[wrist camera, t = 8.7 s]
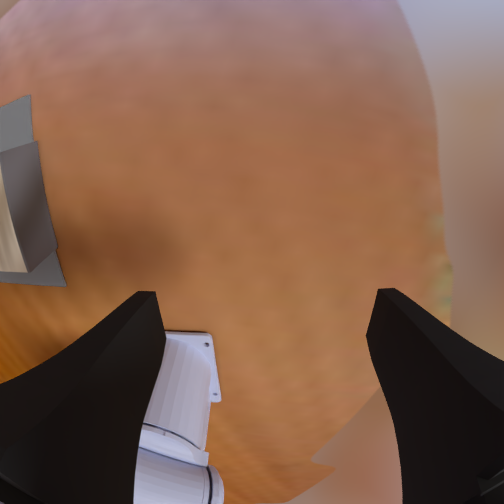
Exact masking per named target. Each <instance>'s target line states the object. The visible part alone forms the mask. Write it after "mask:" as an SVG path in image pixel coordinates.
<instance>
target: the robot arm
mask: <svg viewBox="0 0 504 504" xmlns="http://www.w3.org/2000/svg"><path fill="white" fill-rule="evenodd" d="M366 338H367V343H368V347H369V352H370V356H371V360H372V363H373V366H374V368H375V371H376V374H377V377H378V379H379V382H380V385H381V387H382V390H383V393H384V396H385V398H386V401H387V404H388V407H389V410H390V412H391V416H392V420H393V423H394V427H395V433H396V438H397V444H398V450H399V457H400V464H401V476H402V490H403V491H402V492H403V504H504V361H502V360H500V359H498V358H497V357H495V356H493V355H491V354H489V353H487V352H486V351H484V350H482V349H480V348H479V347H477V346H475V345H474V344H472V343H470V342H469V341H468V340H466V339H465V338H463V337H462V336H460V335H459V334H457V333H456V332H454V331H453V330H451V329H450V328H449V327H447V326H446V325H445V324H443V323H442V322H441V321H439V320H438V319H437V318H435V317H434V316H433V315H431V314H430V313H429V312H427V311H426V310H425V309H423V308H422V307H421V306H419V305H418V304H417V303H415V302H414V301H413V300H411V299H410V298H409V297H407V296H406V295H404V294H403V293H401V292H400V291H398V290H397V289H395V288H385V289H378V291H377V296H376V300H375V304H374V308H373V311H372V315H371V319H370V323H369V326H368V330H367V333H366ZM206 343H209V344H206ZM220 401H221V392H220V386H219V380H218V373H217V367H216V360H215V353H214V346H213V339H212V336H211V335H210V334H208V333H190V332H168V331H165V330H164V326H163V322H162V318H161V314H160V310H159V306H158V301H157V297H156V292H155V291H138V292H136V293H135V294H133V295H132V296H131V297H130V298H128V299H127V300H126V301H125V302H123V303H122V304H121V305H120V306H119V307H117V308H116V309H115V310H114V311H113V312H111V313H110V314H109V315H108V316H106V317H105V318H104V319H103V320H102V321H100V322H99V323H98V324H97V325H96V326H94V327H93V328H92V329H90V330H89V331H88V332H87V333H85V334H84V335H83V336H81V337H80V338H79V339H77V340H76V341H75V342H74V343H72V344H71V345H69V346H68V347H67V348H65V349H64V350H62V351H61V352H59V353H58V354H56V355H55V356H53V357H52V358H50V359H48V360H47V361H45V362H43V363H42V364H40V365H38V366H36V367H34V368H33V369H31V370H29V371H27V372H25V373H23V374H21V375H20V376H17V377H15V378H13V379H11V380H9V381H6V382H4V383H2V384H0V504H223V501H224V487H223V482H222V479H221V477H220V476H219V473H218V471H217V470H216V468H215V467H214V466H212V465H208V455H209V453H208V452H205V451H204V450H205V446H206V438H207V430H208V422H209V414H210V406H211V402H220Z"/></svg>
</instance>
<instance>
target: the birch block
mask: <svg viewBox="0 0 504 504" xmlns="http://www.w3.org/2000/svg"><path fill="white" fill-rule="evenodd" d="M57 248H58V245H57V241H56V238H55V234H54V230H53V226H52V222H51V218H50V213H49V209H48V204H47V199H46V194H45V189H44V184H43V178H42V172H41V166H40V159H39V151H38V143H37V141H35V142H32V143H28V144H25V145H22V146H18V147H15V148H12V149H9V150H6V151H3V152H0V271H4V272H25V273H31V272H32V271H33V270H34V269H35V268H36V267H37V266H38V265H39V264H40V263H41V262H42V261H43V260H44V259H45V258H47V257H48V256H49V255H50V254H51V253H52V252H53V251H54V250H55V249H57Z"/></svg>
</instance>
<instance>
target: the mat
mask: <svg viewBox="0 0 504 504" xmlns="http://www.w3.org/2000/svg"><path fill="white" fill-rule="evenodd" d="M32 142H34V141H33V131H32V118H31V99H30V95H27V96H24V97H22V98H20V99H18V100H15V101H13V102H11V103H9V104H7V105H5V106H3V107H1V108H0V152H3V151H6V150H9V149H12V148H15V147H18V146H22V145H25V144H28V143H32ZM0 282H4V283H16V284H29V285H42V286H57V287H66V286H67V285H66V282H65V279H64V276H63V273H62V270H61V267H60V264H59V261H58V257H57V254H56V251H55V250H54V251H53V252H52V253H51V254H50V255H49V256H48V257H47V258H45V259H44V260H43V261H42V262H41V263H40V264H39V265H38V266H37V267H36V268H35V269H34V270H33V271H32V272H31V273H25V272H4V271H0Z"/></svg>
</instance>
